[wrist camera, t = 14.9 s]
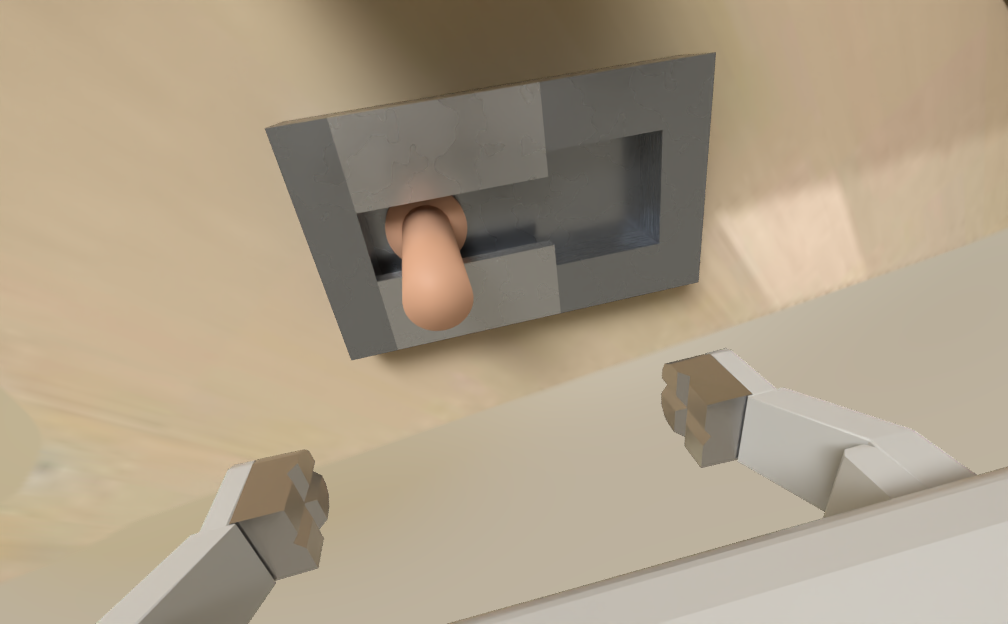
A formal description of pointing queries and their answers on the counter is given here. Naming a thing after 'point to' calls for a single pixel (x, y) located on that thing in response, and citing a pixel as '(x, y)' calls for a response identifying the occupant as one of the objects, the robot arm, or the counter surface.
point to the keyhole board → (510, 193)
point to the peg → (431, 261)
